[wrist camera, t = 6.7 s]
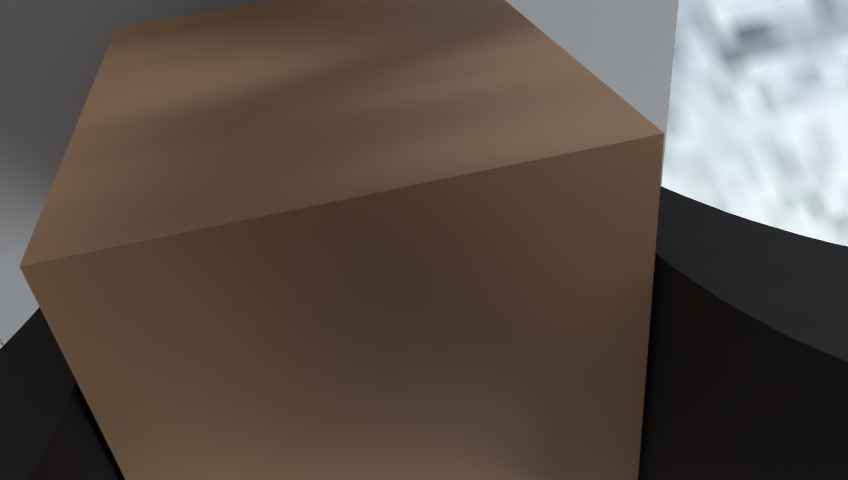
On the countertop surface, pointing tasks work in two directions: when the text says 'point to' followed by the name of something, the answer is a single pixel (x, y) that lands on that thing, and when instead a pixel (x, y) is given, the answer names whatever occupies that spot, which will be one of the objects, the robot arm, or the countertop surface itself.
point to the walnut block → (354, 248)
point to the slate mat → (135, 3)
